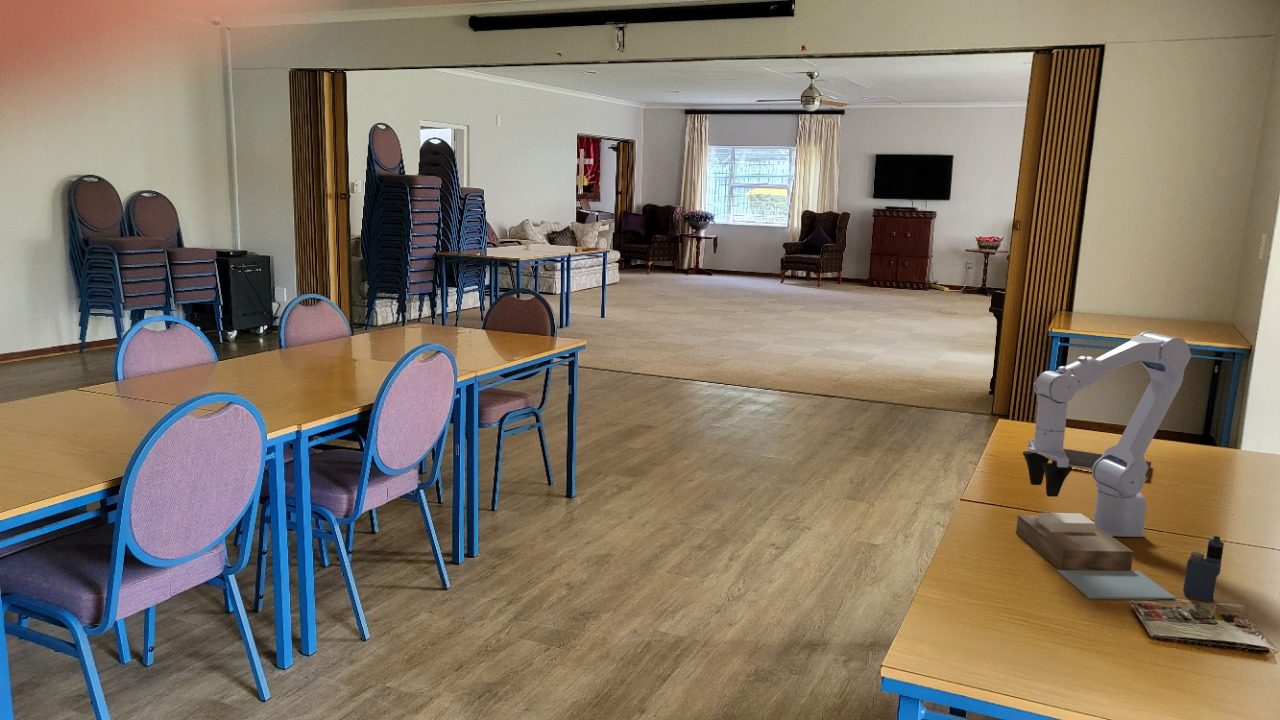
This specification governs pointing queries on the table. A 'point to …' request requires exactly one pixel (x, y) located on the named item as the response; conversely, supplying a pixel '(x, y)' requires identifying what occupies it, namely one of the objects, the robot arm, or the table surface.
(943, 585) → the table surface
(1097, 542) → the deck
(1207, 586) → the vaping device
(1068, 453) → the hardcover book
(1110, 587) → the mat
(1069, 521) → the white flat block
